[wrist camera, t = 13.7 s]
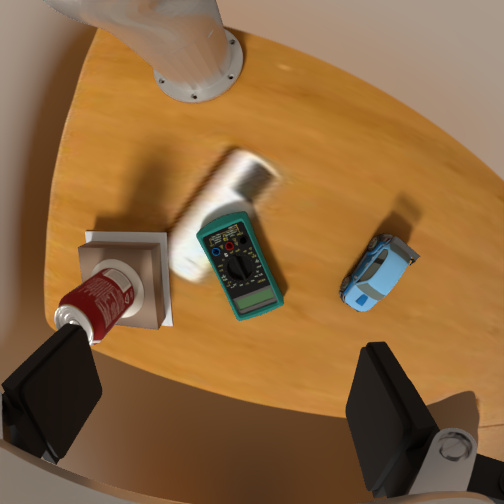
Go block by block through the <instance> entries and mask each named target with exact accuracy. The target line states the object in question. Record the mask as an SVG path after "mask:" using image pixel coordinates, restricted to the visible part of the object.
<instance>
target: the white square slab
mask: <svg viewBox="0 0 504 504" xmlns="http://www.w3.org/2000/svg"><path fill="white" fill-rule="evenodd" d="M85 234H86V243H88V242H90V241H111V242H147V243H160V248H161V265H162V280H163V293H164V304H165V315H166V318H165V320H164V321H163V323H162V324H161V325H164V326H173V322H172V310H171V298H170V285H169V269H168V250H167V233H166V232H106V231H85Z"/></svg>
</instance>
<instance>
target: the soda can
mask: <svg viewBox="0 0 504 504" xmlns="http://www.w3.org/2000/svg"><path fill="white" fill-rule="evenodd" d="M134 299H135V290H134V287H133V284H132V282H131V280H130V279H129V278H128V276H127V275H126V274H124V273H123V272H122V271H120V270H118V269H115V268H105V269H102V270H101V271H99V272H98V273H96V274H95V275H93V276H92V277H91V278H89V279H88V280H86V281H85V282H83V283H82V284H81V285H79V286H78V287H76V288H75V289H74V290H72V291H71V292H69V293H68V294H67V295H65V296H64V297H63V298H62V299H61V301H60V303H59V307H58V308H57V310H56V312H55V316H54V320H55V325H56V328H57V330H59V329H60V328H61V327H62V326H63V325H64V324H66V323H71V324H77V325H81V326H82V327H83V329H84V330H85V331H86V332H87V336H88V340H89V344H90V345H95V344H98V343H99V342H100V341H101V340H102V339H103V338H104V337H105V336H106V335H107V333H108V332H109V331H110V330H111V329H112V328H113V327H114V325H115V324H116V323H117V322H118V321H119V320H120V319H121V318H122V316H123V315H124V314H125V313H126V312H127V311H128V310H129V309H130V307H131V306H132V305H133V303H134Z"/></svg>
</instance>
